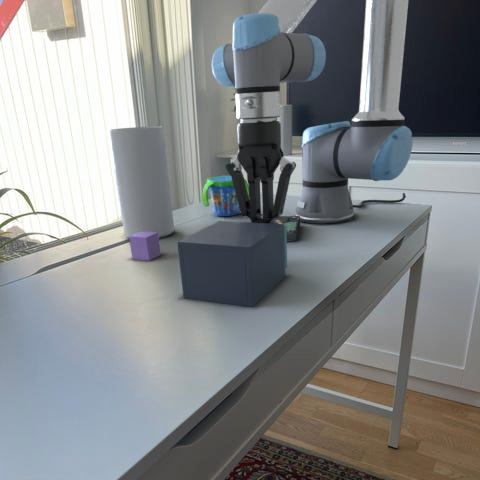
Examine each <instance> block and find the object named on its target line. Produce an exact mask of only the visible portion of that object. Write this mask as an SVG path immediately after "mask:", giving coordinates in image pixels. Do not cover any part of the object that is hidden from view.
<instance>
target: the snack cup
mask: <svg viewBox="0 0 480 480" xmlns="http://www.w3.org/2000/svg"><path fill="white" fill-rule="evenodd" d="M244 181H245V185H246V189H247V192H248V196H249V183H248V181H247V179H246V178H244ZM208 190H209V191H208ZM209 194H210V200H211V203H212V209H213V212H214V214H215V215H216V216H217V217H232V216H236V215H241V211H240V207H239V204H238V200H237V196H236V192H235V189H234V185H233V181H232V177H231V176H230V175H219V176H212V177H208V178H207V179H206V183H205V184H204V186H203V189H202V196H201V198H202V199H201V201H202V204H203V206H204V207H207V208H208V207H210V202H209Z"/></svg>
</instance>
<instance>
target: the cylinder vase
mask: <svg viewBox="0 0 480 480" xmlns="http://www.w3.org/2000/svg"><path fill="white" fill-rule="evenodd" d="M107 132H108V133H107V134H108V138H109V145H110V150H111V151H110V152H111V159H112V164H113V171H114V176H115V183H116V190H117V194H118V195H117V196H118V203H119V209H120V215H121V221H122V229H123V233H124V236H125V237H126V238H128V239H129V236H131V235H133V234H136V233H138V232H141V231H146V232H158V236H159V239H162V238H164V237H167V236H170V235H171V234H173V232H175V224H174V214H173V206H172V197H171V189H170V180H169V179H170V178H169V171H168V170H169V169H168V162H167V153H166V144H165V136H164V128H163V126H162V125H159V126H158V125H156V126H155V125H154V126H153V125H151V126H136V127H122V128H121V127H120V128H111V129H108V130H107Z"/></svg>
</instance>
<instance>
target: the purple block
mask: <svg viewBox="0 0 480 480" xmlns="http://www.w3.org/2000/svg"><path fill="white" fill-rule="evenodd" d="M128 239H129V244H130V245H129V246H130V253H131V260H137V261H138V260H139V261H147V262H151V261H152V260H154V259H156V258H158V257H160V256H161V255H162V253H161V251H162V250H161V244H160V243H161V242H160V238H159V236H158V232H146V231H141V232H138V233H136V234H133V235H131V236H129V238H128Z"/></svg>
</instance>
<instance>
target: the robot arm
mask: <svg viewBox="0 0 480 480" xmlns="http://www.w3.org/2000/svg"><path fill="white" fill-rule="evenodd" d="M317 1H318V0H267V1H266V3H264V5H263V6H262V8H261V9H260V10H259V11H258V13H248V14H244V15H240V16H238V17H236V18H235V20H234V21H233V24H232V43H226V44H224V45H221V46H219V47H217V48H216V49H215V51H214V53H213V55H212V58H211V70H212V74H213V76H214V78H215V80H216V82H217V83H218V84H219V85H220V86H222V87H225V88H235V108H236V119H237V120H240V123H238V124H237V125H236V128H237V129H236V130H237V145H238V151H237V153H236V158H235V159H234V160H232V162H229V163H227V164H225V169H226V171H227V172H228V174H229V176H231V177H232V181H233V185H234V189H235V192H236V196H237V200H238V204H239V207H240V215H241V216H242V217H246V218H249V220H250V221H251V222H250V223H270V224H273V219H274V218H277V217H278V216H283V213H284V209H285V203H286V200H287V195H288V190H289V186H290V181H291V176H292V174H293V172H294V171H295V169H296V167H297V163H296V162H295V161H290V160H288V159H287V158H286V157H285V156H284V155H285V154H284V151H283V150H282V126H281V125H282V123H281V122H280V121H279V120H278V118H280V117H281V113H282V112H281V87H280V86H281V84H284V83H306V82H311V81H314V80H315V79H318V77H319V76H320V75H321V73H322V72H323V70H324V68H325V65H326V59H327V56H326V55H327V53H326V52H327V51H326V48H325V45H324V42H323V41H321V39H320V38H318V36H315V35H311V34H308V33H306V32H303V33H294V31H295V30H296V29H297V27H298V26H299V24H300V23H301V22H302V20H303V19H304V18H305V16H307V14H308V13H309V12H310V10H311V9H312V7H313V6H314V5H315V4H316V3H317ZM408 9H409V0H365V12H364V26H363V27H364V28H363V41H362V42H363V43H362V58H361V74H360V90H359V104H358V112H357V113H356V114H355V115H354V116H353V117H352V118H351V122H350V121H348V120H345V121H338V122H332V123H325V124H321V125H314V126H310V127H307V128H305V130H303V133H302V141H301V142H302V144H301V158H302V159H301V168H302V170H301V173H302V174H301V177H302V180H301V181H302V185H301V186H302V189H301V192H300V195H299V198H298V200H297V204H296V209H295V216H300V222H302V223H307V224H317V225H318V224H322V225H323V224H324V225H325V224H326V225H327V224H338V223H344V222H347V221H351V220H352V219H354V218H355V209H361V208H363V207H364V204H366V203H367V204H368V203H382V204H386V203H387V204H392V203H393V204H397V203H402V202H403V201H404V200H405V199H406V198H407V196H406V193H405V192H402V198H400V199H394V200H393V199H392V200H391V199H390V200H389V199H366V200H365V199H364V200H362V201H361V202H360V204H359V205H358V204H353V201H352V196H351V194H350V189H349V179H353V180H368V181H373V182H379V181H393V180H395V179H396V178H398V177H399V176H400V175H402V173H403V172H404V170H405V168H406V167H407V165H408V163H409V161H410V158H411V155H412V150H413V143H414V142H413V141H414V140H413V139H414V138H413V137H412V136H413V133H412V130H411V129H410V128H409V127H407V126H406V125H405V116H404V115H403V114H402V113H401V112H400V110H399V108H400V107H399V106H400V98H401V97H400V96H401V95H400V94H401V87H402V85H401V84H402V75H403V64H404V63H403V62H404V53H405V52H404V51H405V41H406V31H407V19H408ZM279 166H280V167H279ZM278 167H279V171H280V174H279V178H278V182H277V186H276V192H275V197H274V179H275V172H277V171H276V170H277V169H278ZM242 169H243V170H244V172H245V174H246V178H247V179H246V181H247V183H248V186H249V196H248V192H247V189H246V185H245V181H244V179H245V176H244V173H243V172H242ZM261 199H262V201H261ZM354 208H355V209H354ZM261 216H263V218H260V217H261Z"/></svg>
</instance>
